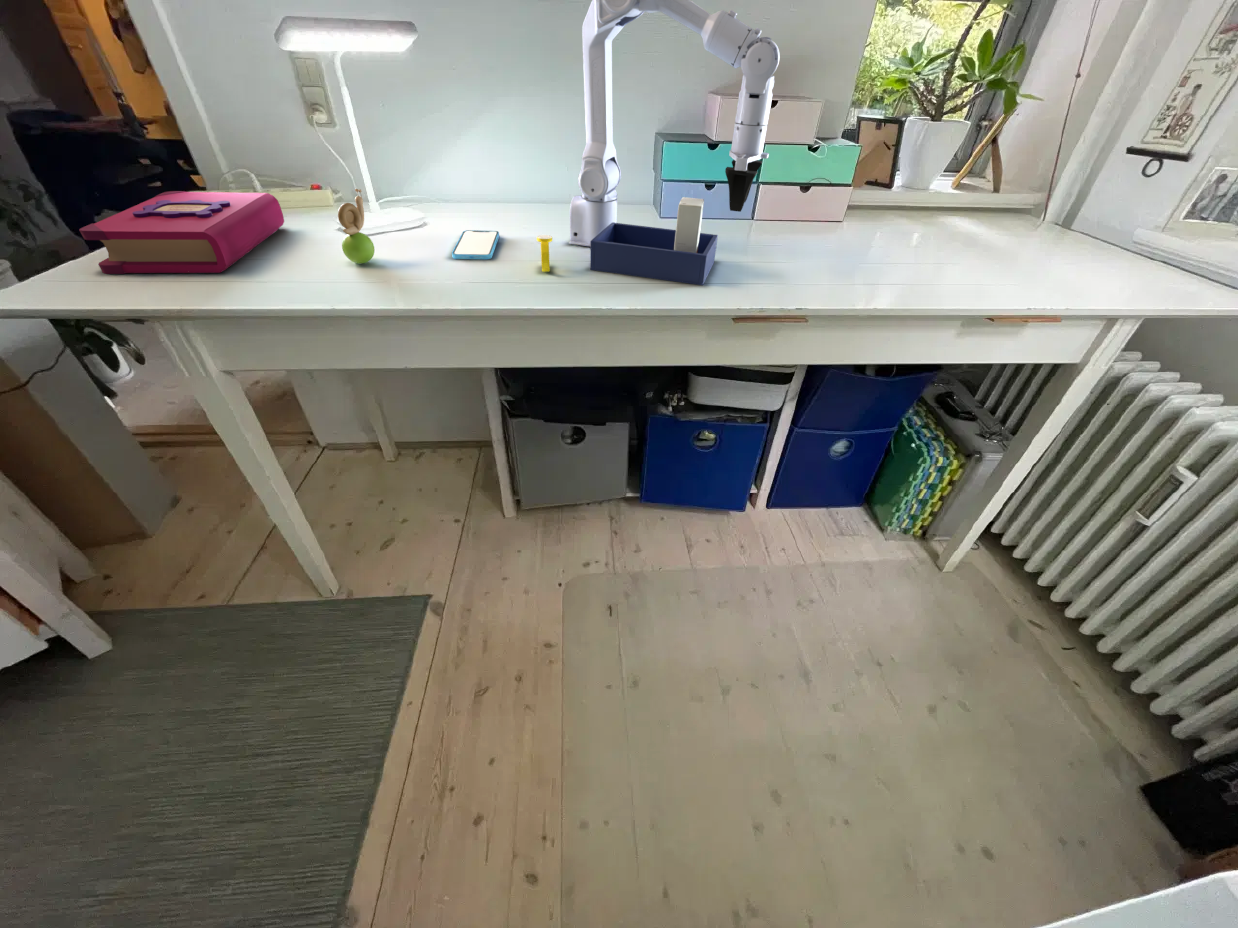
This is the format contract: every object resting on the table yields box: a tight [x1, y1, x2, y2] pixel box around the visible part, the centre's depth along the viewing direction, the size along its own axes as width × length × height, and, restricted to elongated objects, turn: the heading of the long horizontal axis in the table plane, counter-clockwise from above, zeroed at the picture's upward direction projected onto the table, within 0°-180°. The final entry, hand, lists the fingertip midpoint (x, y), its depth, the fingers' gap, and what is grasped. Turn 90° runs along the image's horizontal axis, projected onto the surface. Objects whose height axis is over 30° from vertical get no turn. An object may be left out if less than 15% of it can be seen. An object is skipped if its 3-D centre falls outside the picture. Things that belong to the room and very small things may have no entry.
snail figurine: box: [337, 188, 375, 264], centre depth 99 cm, size 5×6×12 cm
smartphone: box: [451, 229, 500, 260], centre depth 112 cm, size 8×1×15 cm
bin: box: [589, 222, 719, 286], centre depth 105 cm, size 22×14×5 cm, turn 74°
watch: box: [536, 234, 553, 273], centre depth 101 cm, size 6×3×6 cm, turn 6°
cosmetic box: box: [674, 196, 705, 253], centre depth 102 cm, size 6×4×12 cm
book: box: [79, 190, 285, 275], centre depth 103 cm, size 21×28×8 cm
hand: (737, 206), depth 106 cm, fingers open, 7 cm apart
